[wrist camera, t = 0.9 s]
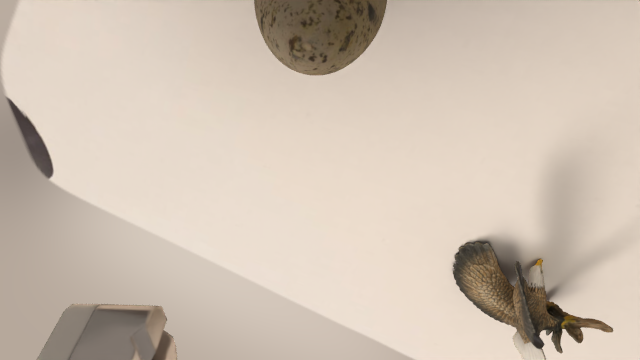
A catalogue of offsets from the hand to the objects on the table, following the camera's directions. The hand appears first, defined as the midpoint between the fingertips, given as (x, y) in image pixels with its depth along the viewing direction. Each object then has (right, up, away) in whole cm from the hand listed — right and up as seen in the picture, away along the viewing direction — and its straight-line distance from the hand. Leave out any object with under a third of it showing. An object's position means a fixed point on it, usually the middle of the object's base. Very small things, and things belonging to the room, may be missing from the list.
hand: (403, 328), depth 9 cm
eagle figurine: (+13, -4, +31) cm, 34 cm away
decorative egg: (-1, +13, +19) cm, 24 cm away
